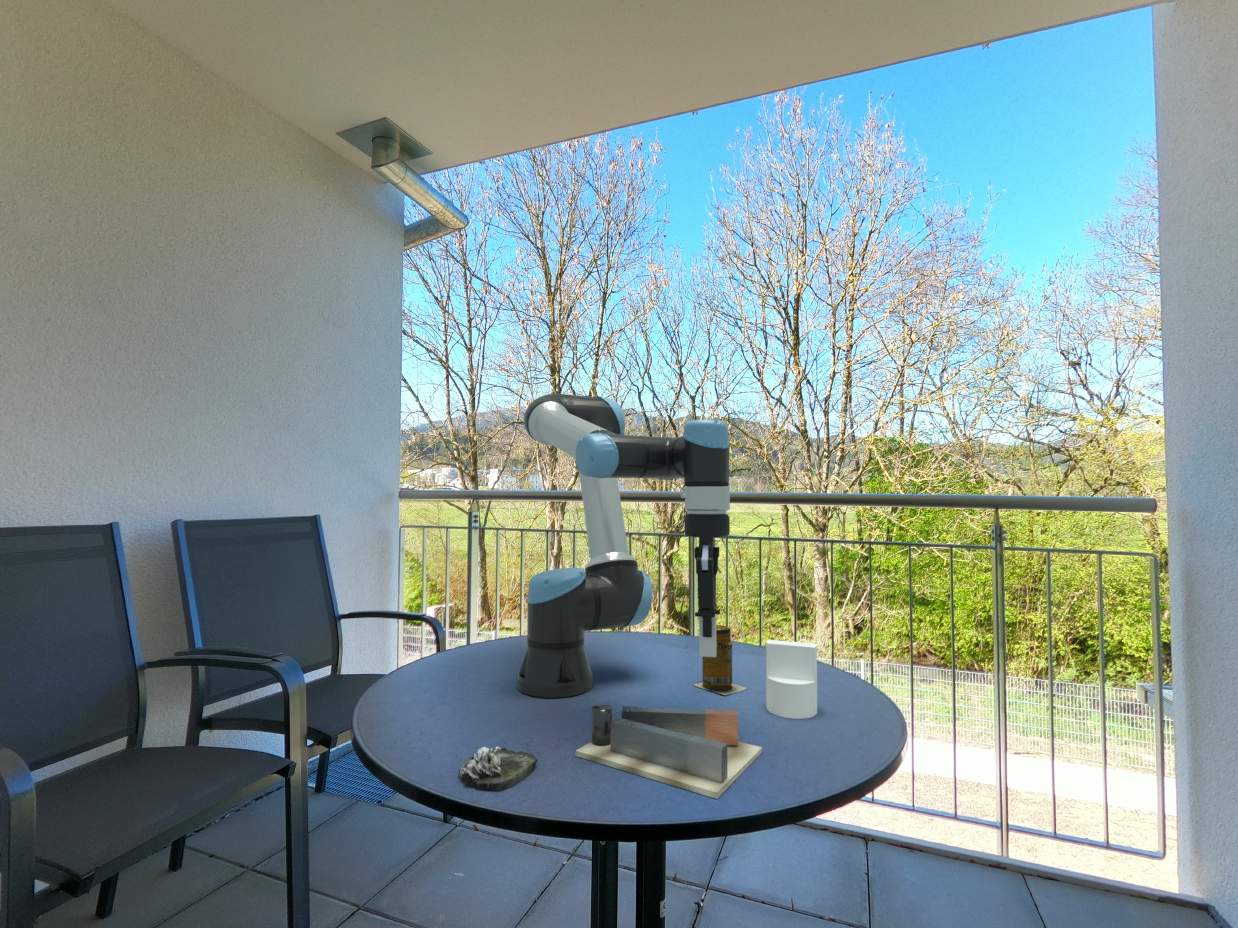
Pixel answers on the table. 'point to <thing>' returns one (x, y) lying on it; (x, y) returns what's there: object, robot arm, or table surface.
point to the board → (736, 765)
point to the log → (496, 769)
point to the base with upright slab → (791, 679)
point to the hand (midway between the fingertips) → (707, 655)
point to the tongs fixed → (660, 745)
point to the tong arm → (689, 721)
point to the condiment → (720, 666)
